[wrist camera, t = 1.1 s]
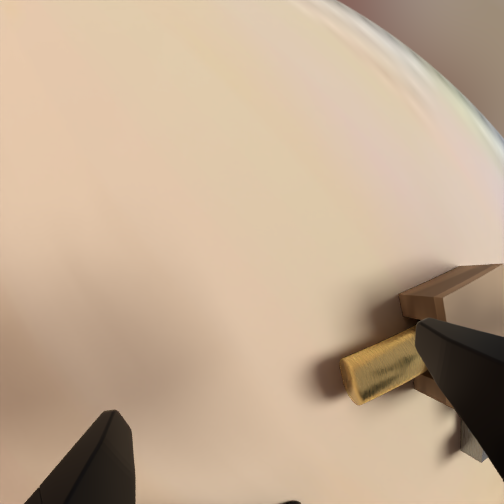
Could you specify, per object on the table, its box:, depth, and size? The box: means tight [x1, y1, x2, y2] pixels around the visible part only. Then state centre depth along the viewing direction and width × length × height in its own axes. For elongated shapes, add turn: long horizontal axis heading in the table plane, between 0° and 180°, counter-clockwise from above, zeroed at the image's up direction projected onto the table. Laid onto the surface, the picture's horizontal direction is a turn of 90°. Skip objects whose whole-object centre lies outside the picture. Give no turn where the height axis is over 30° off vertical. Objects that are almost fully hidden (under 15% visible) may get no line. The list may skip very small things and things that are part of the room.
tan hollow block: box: [399, 264, 504, 409], centre depth 16 cm, size 7×6×4 cm
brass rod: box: [339, 325, 428, 405], centre depth 17 cm, size 11×3×3 cm, turn 106°
